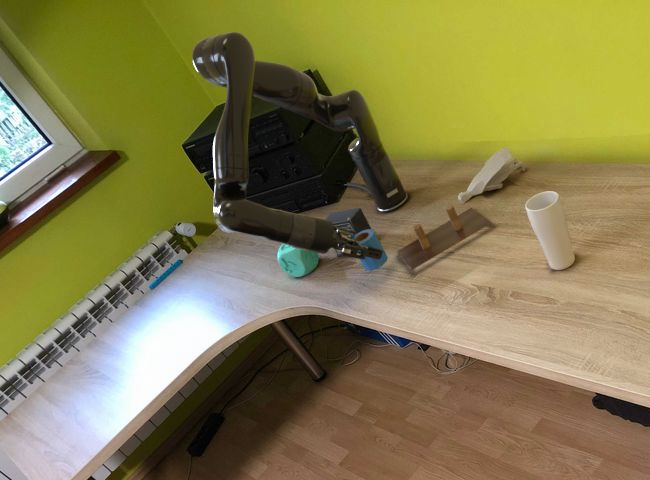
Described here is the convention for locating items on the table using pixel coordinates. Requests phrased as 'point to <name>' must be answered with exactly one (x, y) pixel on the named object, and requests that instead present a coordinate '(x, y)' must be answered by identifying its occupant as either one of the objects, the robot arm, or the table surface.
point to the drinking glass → (551, 228)
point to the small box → (349, 221)
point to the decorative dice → (297, 260)
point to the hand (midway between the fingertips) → (377, 249)
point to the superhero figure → (491, 174)
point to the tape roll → (371, 240)
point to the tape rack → (442, 236)
